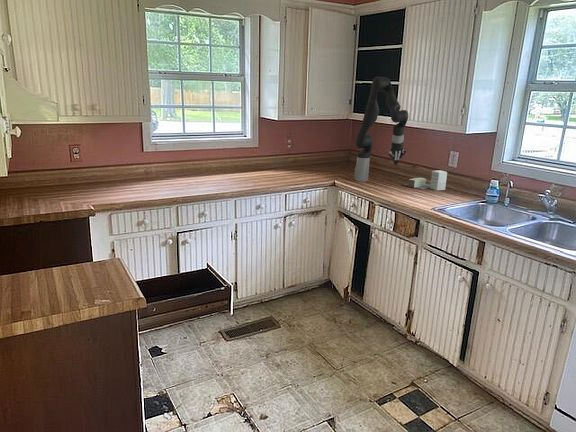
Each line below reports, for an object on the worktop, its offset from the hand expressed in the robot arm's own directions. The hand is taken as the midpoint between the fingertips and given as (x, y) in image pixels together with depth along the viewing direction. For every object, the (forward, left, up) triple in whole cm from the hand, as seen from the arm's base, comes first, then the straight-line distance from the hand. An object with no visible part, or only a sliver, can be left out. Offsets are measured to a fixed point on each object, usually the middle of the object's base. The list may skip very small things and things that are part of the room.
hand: (395, 164), depth 299 cm
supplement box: (+16, +28, -17) cm, 37 cm away
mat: (+3, +26, -17) cm, 31 cm away
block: (+3, +16, -14) cm, 21 cm away
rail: (+3, +35, -17) cm, 39 cm away
